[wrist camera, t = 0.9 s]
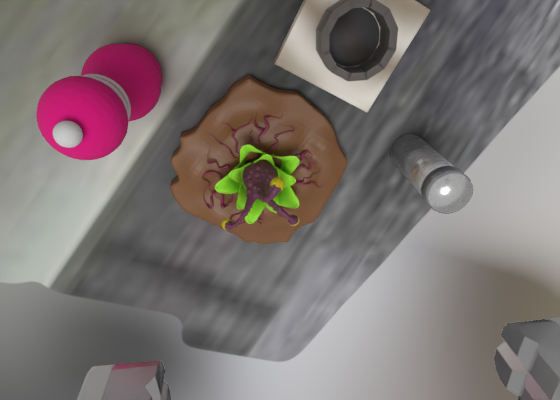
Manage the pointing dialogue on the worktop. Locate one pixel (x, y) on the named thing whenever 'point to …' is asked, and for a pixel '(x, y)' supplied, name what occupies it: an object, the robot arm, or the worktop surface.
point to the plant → (258, 163)
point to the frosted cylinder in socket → (431, 174)
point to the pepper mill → (100, 101)
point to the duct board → (350, 44)
